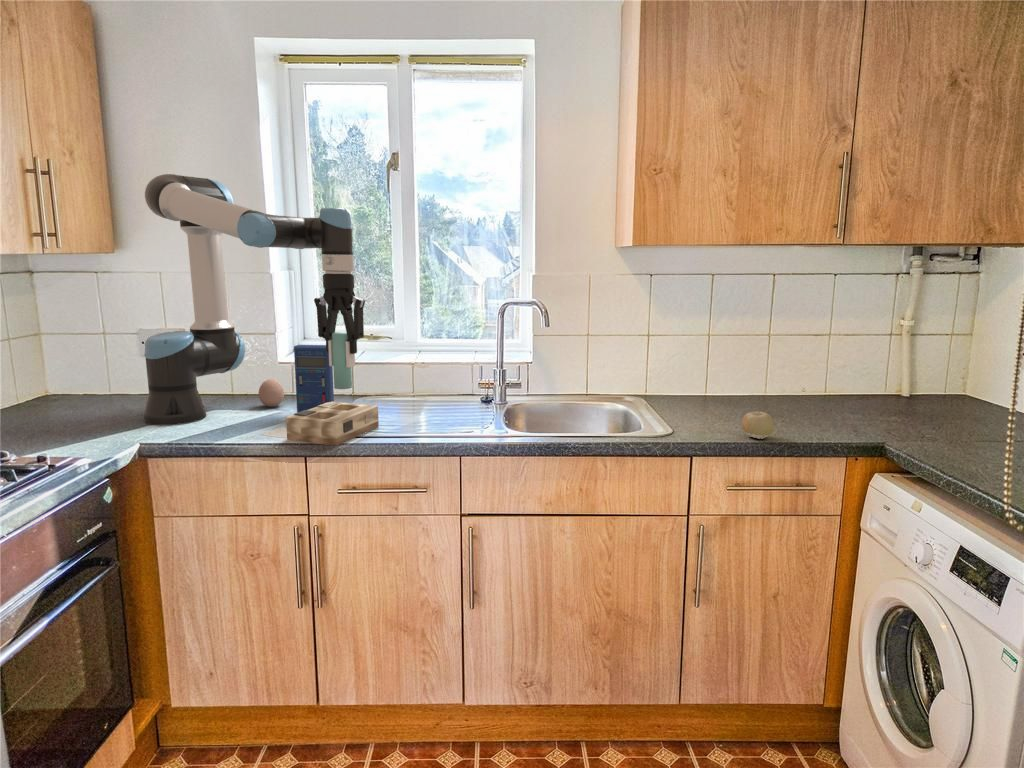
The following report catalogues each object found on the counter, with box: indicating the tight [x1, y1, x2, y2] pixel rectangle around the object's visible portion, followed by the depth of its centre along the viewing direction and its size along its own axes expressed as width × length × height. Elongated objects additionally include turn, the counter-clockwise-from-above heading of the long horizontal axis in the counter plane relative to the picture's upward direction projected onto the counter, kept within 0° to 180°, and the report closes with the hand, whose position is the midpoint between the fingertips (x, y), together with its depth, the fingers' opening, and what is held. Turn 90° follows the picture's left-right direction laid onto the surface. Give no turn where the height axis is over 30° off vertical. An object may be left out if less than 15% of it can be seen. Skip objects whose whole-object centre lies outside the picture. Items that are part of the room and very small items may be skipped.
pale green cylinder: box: [332, 331, 353, 390], centre depth 163 cm, size 4×4×14 cm
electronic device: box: [293, 344, 335, 413], centre depth 179 cm, size 10×5×20 cm, turn 91°
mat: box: [260, 426, 287, 439], centre depth 162 cm, size 8×8×1 cm
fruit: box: [741, 407, 774, 436], centre depth 165 cm, size 8×7×8 cm
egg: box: [257, 378, 285, 408], centre depth 191 cm, size 7×7×8 cm
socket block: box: [285, 401, 379, 447], centre depth 162 cm, size 14×19×6 cm
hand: (342, 365), depth 164 cm, fingers closed on pale green cylinder, 4 cm apart
